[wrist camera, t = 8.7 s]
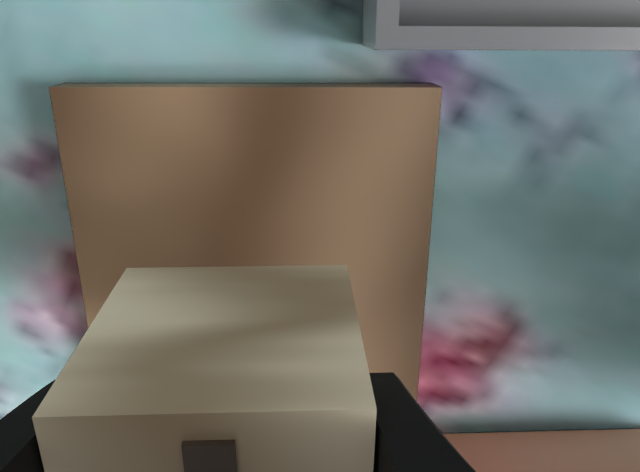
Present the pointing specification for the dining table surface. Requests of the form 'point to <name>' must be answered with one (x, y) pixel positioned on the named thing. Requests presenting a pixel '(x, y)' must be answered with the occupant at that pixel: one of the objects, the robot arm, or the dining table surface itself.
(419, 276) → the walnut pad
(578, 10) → the charcoal tray
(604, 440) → the terracotta tray
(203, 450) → the letter cube
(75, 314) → the dining table surface
